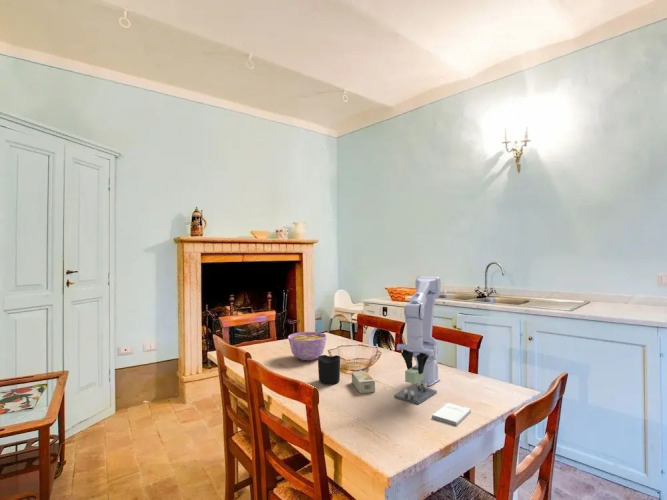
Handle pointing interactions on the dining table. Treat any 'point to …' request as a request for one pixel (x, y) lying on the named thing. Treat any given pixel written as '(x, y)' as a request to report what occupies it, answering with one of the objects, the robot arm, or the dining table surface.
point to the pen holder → (329, 369)
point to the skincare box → (363, 382)
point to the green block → (413, 375)
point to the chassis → (416, 393)
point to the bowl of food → (307, 344)
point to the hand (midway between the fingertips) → (415, 372)
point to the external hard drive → (451, 414)
